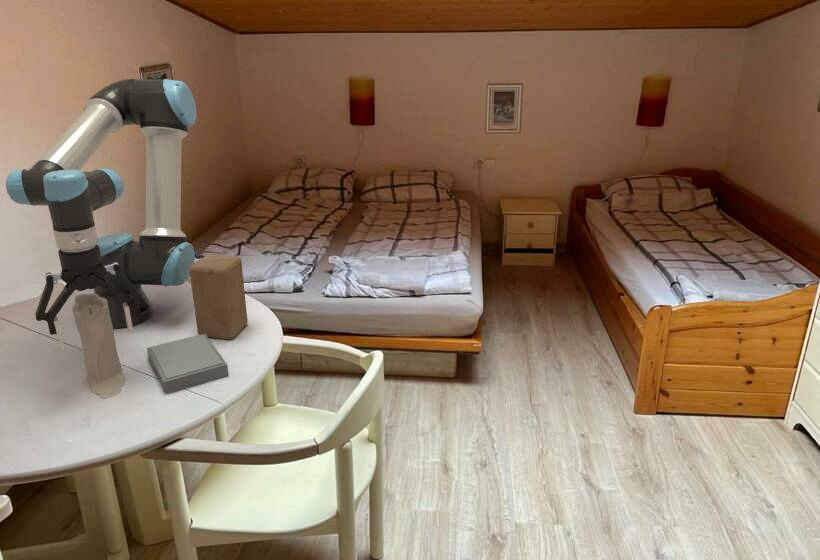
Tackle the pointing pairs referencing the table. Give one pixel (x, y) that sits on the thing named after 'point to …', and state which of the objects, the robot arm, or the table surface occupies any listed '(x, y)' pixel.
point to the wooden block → (218, 296)
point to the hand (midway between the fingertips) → (97, 338)
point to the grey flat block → (186, 363)
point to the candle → (98, 345)
